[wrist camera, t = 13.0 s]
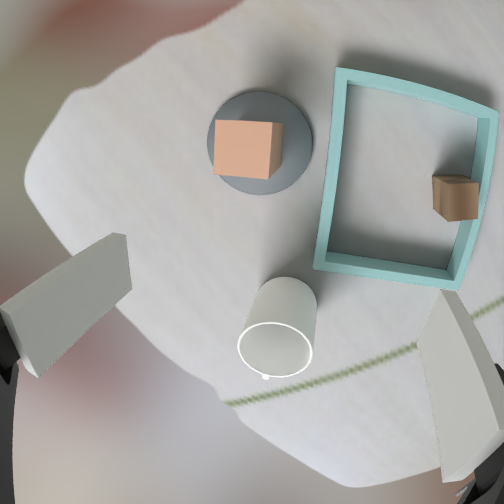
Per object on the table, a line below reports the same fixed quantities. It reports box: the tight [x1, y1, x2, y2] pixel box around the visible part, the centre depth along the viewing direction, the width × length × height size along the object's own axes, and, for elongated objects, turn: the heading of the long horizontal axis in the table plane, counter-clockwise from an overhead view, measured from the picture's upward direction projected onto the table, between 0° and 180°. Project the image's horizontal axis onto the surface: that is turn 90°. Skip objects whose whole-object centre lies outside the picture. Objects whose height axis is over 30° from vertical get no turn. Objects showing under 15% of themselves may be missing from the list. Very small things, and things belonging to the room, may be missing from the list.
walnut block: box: [432, 175, 479, 222], centre depth 27 cm, size 4×4×5 cm
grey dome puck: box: [207, 92, 312, 195], centre depth 32 cm, size 12×12×1 cm
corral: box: [313, 67, 499, 290], centre depth 29 cm, size 19×22×3 cm
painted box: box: [213, 120, 284, 179], centre depth 29 cm, size 5×5×8 cm
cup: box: [238, 277, 317, 379], centre depth 37 cm, size 8×12×10 cm
